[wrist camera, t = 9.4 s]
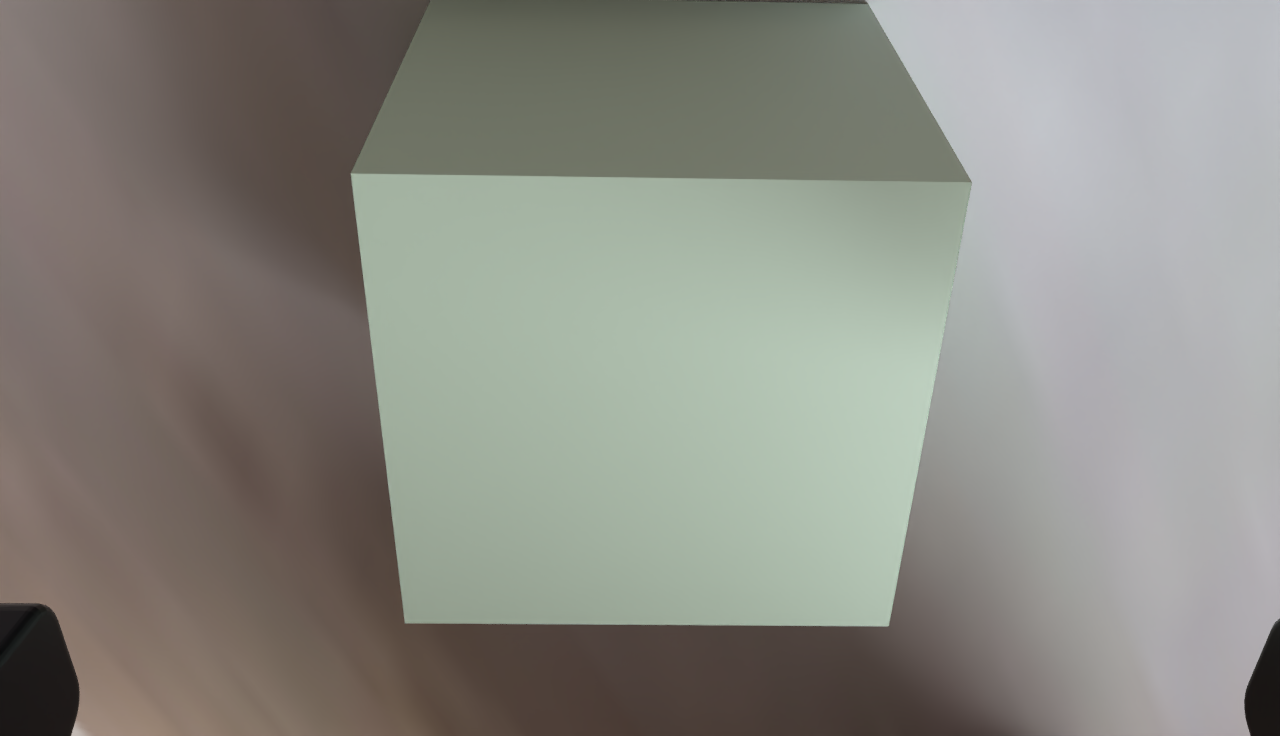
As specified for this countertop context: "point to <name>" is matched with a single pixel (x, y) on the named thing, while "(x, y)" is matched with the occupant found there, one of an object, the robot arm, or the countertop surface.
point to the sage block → (654, 310)
